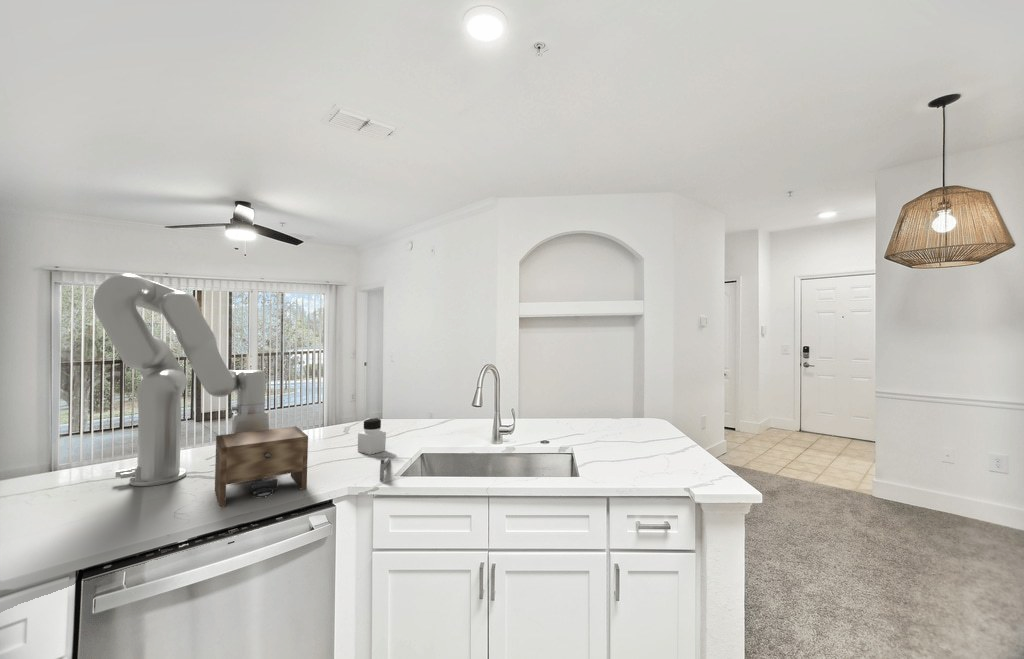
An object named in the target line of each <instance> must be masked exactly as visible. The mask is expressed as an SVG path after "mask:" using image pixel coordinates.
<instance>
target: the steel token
mask: <svg viewBox="0 0 1024 659" xmlns="http://www.w3.org/2000/svg"><path fill="white" fill-rule="evenodd" d="M272 493H274V489H272V488H261V489H258V490H256V491H254V493H253V497H254V496H255V497H254V498H256V497H262V498H266V497H265V496H267V497H270V496H272V495H273V494H272ZM271 494H272V495H271ZM269 495H270V496H269Z"/></svg>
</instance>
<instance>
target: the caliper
mask: <svg viewBox="0 0 1024 659" xmlns="http://www.w3.org/2000/svg"><path fill="white" fill-rule="evenodd" d="M390 460H391V459H390V457H386V458H385V459H384V458H383V459H380V465H379V481H381V482H383V481H384V479H385V471H386V468H387V466H388V464H389V463H390Z"/></svg>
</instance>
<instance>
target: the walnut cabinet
mask: <svg viewBox="0 0 1024 659" xmlns="http://www.w3.org/2000/svg"><path fill="white" fill-rule="evenodd" d="M308 451H309V435H308V434H306V433H305V432H304V431H303V430H301V429H300V427H298V426H289V427H278V428H271V429H269V430H261V431H252V432H244V433H235V434H231V433H228V434H221V435H220V434H219V435H215V462H214V463H215V467H214V468H215V469H214V470H215V472H214V473H215V474H214V493H215V492H216V493H215V496H217V497H216V500H217V502H218V503H219V504H218V507H221V508H225V507H226V501H227V499H226V498H227V497H226V496H227V494H226V493H227V491H226V489H227V485H233V484H237V483H244V482H249V481H250V482H251V481H256V480H255V479H261V478H265V479H266V478H271V477H277V476H282V475H283V476H284V475H286V474H290V477H291V479H292V480H293V481H294V483H295V484H296V485H297V486H298V487H299V489H300V490H301V491H306V490H307V488H308V455H309V454H308V453H309V452H308Z"/></svg>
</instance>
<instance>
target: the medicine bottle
mask: <svg viewBox="0 0 1024 659" xmlns="http://www.w3.org/2000/svg"><path fill="white" fill-rule="evenodd" d="M381 426H382V421H381V419H380V418H378V417H369V418H366V419H364V420H363V430H362V431H360V432H358V433H357V452H358V453H360V454H364V455H369V456H371V455H375V453H376V454H377V453H378V454H379V453H383V452H385V451H386V446H387V445H386V442H387V441H386V438H387V432H386V431H384V430H382V428H381Z"/></svg>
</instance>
